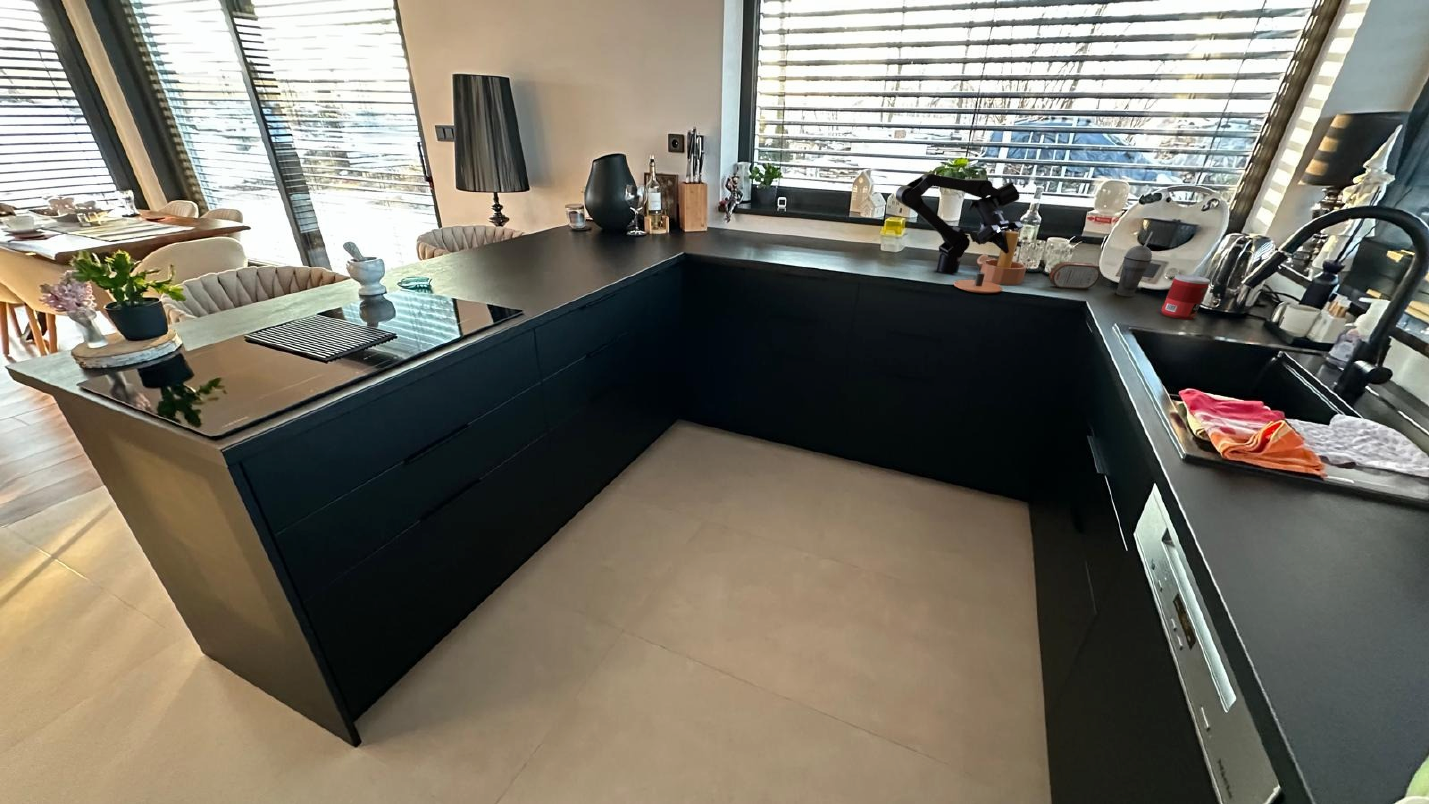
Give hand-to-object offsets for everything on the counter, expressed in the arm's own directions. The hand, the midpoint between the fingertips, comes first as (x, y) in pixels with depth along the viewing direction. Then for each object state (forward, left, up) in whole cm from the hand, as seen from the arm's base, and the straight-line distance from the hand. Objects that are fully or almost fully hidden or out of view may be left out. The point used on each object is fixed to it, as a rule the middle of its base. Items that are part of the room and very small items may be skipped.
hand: (1011, 252), depth 188 cm
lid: (-4, -17, -9) cm, 20 cm away
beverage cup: (+35, +8, -10) cm, 37 cm away
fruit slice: (-9, +13, -10) cm, 19 cm away
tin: (+20, +5, -10) cm, 23 cm away
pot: (-1, 0, -10) cm, 10 cm away
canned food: (+49, -8, -10) cm, 50 cm away
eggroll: (-1, 0, -7) cm, 7 cm away
